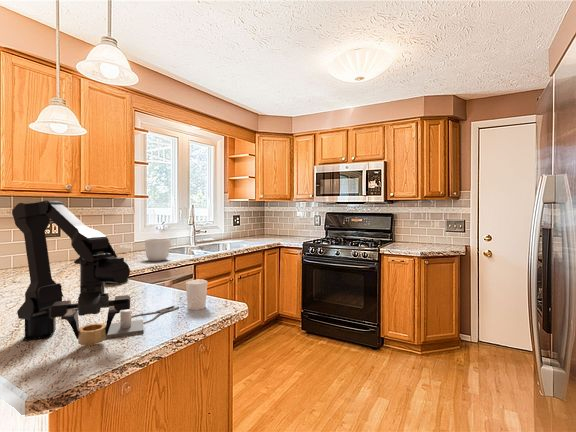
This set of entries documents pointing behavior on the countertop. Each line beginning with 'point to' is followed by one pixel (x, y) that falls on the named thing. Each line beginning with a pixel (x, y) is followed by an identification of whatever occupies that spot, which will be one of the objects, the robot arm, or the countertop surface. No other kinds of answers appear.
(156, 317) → the pliers
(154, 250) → the planter
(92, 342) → the ring
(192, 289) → the white cup
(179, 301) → the countertop surface
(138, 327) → the grey peg stand
